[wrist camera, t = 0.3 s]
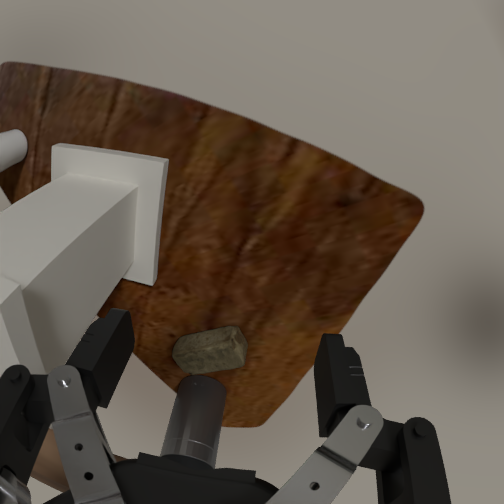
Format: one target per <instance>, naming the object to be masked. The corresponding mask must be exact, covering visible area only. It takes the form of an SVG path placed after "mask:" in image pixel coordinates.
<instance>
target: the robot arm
mask: <svg viewBox="0 0 504 504" xmlns="http://www.w3.org/2000/svg"><path fill="white" fill-rule="evenodd" d="M134 343H135V338H134V332H133V327H132V321H131V315H130V312H129V311H127V310H121V309H115V308H111V309H110V311H109V312H108V314H107V315H106V317H105V318H99V319H97V320H96V321H94V322H93V323H92V324H91V325H90V326H89V328H88V329H87V331H86V332H85V334H84V335H83V337H82V338H81V341H80V342H79V343H78V345H77V346H76V348H75V349H74V351H73V353H72V354H71V356H70V357H69V359H68V361H67V362H66V364H65V365H61V366H58V367H56V368H54V369H53V370H52V371H51V372H50V373H49V374H46V375H44V374H31V373H30V371H29V370H28V368H27V367H25V366H24V365H19V364H17V365H12V366H10V367H8V368H7V369H6V370H5V371H4V372H3V374H2V376H1V377H0V504H31V495H30V491H29V489H28V487H27V483H28V480H29V477H30V475H31V472H32V469H33V467H34V464H35V462H36V459H37V456H38V454H39V451H40V449H41V446H42V444H43V441H44V439H45V437H46V434H47V432H48V430H49V427H50V425H51V424H52V427H53V432H54V436H55V440H56V444H57V447H58V451H59V455H60V458H61V462H62V465H63V468H64V472H65V475H66V478H67V481H68V484H69V487H70V489H69V490H67V491H65V492H63V493H62V494H60V495H58V496H56V497H54V498H53V499H51V500H49V501H47V502H45V503H43V504H331V502H332V501H333V500H334V499H335V497H336V496H337V495H338V493H339V492H340V491H341V489H342V488H343V487H344V485H345V484H346V483H347V481H348V480H349V479H350V477H351V476H352V474H353V473H354V471H355V470H356V467H357V466H361V467H365V468H370V469H374V470H376V479H377V492H378V504H451V500H450V494H449V488H448V483H447V478H446V474H445V468H444V464H443V459H442V455H441V450H440V446H439V442H438V438H437V434H436V430H435V428H434V426H433V425H432V423H431V422H429V421H428V420H426V419H425V418H421V417H414V418H411V419H409V420H408V421H407V422H406V423H405V424H402V423H398V422H394V421H389V420H386V419H384V418H382V415H381V414H380V413H379V411H378V410H376V409H375V408H373V407H372V406H371V402H370V398H369V393H368V389H367V385H366V381H365V377H364V372H363V369H362V364H361V360H360V357H359V355H358V354H357V353H356V351H355V350H354V349H353V348H352V347H345V345H344V341H343V337H342V335H341V334H327V333H324V334H323V335H322V338H321V342H320V345H319V348H318V352H317V355H316V358H315V363H314V379H315V390H316V399H317V412H318V424H319V437H328V439H327V440H326V441H325V442H324V443H323V445H322V446H321V447H318V448H317V449H316V450H315V451H314V453H313V454H312V455H311V456H310V457H309V458H308V459H307V460H306V462H305V463H304V464H303V465H302V466H301V467H300V468H299V469H298V470H297V472H296V473H295V474H294V475H293V476H292V477H291V478H290V479H289V480H288V481H287V482H286V483H285V484H284V486H282V487H281V488H280V490H279V489H278V488H276V487H275V486H274V485H272V484H270V483H268V482H266V481H264V480H262V479H259V478H255V474H256V471H252V470H240V469H232V468H219V469H215V464H216V457H217V450H218V444H219V437H220V431H221V425H222V419H223V412H224V406H225V400H226V389H225V387H224V386H223V385H222V384H221V383H220V382H218V381H216V380H215V379H212V378H210V377H206V376H201V375H194V376H189V377H186V378H184V379H183V380H182V381H181V383H180V386H179V389H178V393H177V396H176V399H175V403H174V406H173V410H172V414H171V417H170V421H169V424H168V428H167V432H166V435H165V440H164V443H163V447H162V451H161V454H160V457H158V456H154V455H150V454H145V453H141V452H139V455H138V459H127V460H122V461H119V462H116V460H115V457H114V455H113V453H112V452H111V449H110V447H109V444H108V442H107V439H106V437H105V434H104V431H103V429H102V426H101V423H100V420H99V417H98V415H97V413H96V409H97V407H98V406H100V407H103V408H107V407H108V404H109V402H110V400H111V398H112V395H113V393H114V391H115V389H116V386H117V384H118V382H119V380H120V377H121V375H122V373H123V371H124V369H125V367H126V365H127V362H128V360H129V358H130V356H131V354H132V352H133V349H134Z"/></svg>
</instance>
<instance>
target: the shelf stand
mask: <svg viewBox="0 0 504 504" xmlns="http://www.w3.org/2000/svg"><path fill="white" fill-rule="evenodd" d="M168 164H169V159H165V158H159V157H154V156H148V155H142V154H136V153H129V152H123V151H116V150H109V149H102V148H95V147H88V146H80V145H72V144H63V143H59V144H56V145H54V146H52V165H51V182H50V183H48V184H46V185H45V186H43V187H41V188H39V189H38V190H36V191H34V192H32V193H31V194H29V195H27V196H26V197H24V198H22V199H21V200H19V201H17V202H16V203H14V204H12V205H11V206H9V207H8V208H7V209H5V210H3V211H1V212H0V377H1V376H2V374H3V372H4V371H5V370H6V369H7V368H8V367H10V366H12V365H17V364H19V365H24V366H25V367H27V368H28V370H29V371H30V373H31V374H44V375H46V374H49V373H50V372H51V371H52V370H53V369H54V368H56V367H58V366H61V365H65V363H66V361H67V360H68V358H69V356H70V355H71V353H72V351H73V350H74V348H75V347H76V345H77V344H78V342H79V340H80V339H81V337H82V335H83V334H84V333H85V331H86V329H87V328H88V326H89V324H90V323H91V322H92V320H93V319H94V317H95V316H96V314H97V313H98V311H99V310H100V308H101V307H102V305H103V304H104V302H105V301H106V299H107V298H108V297H109V295H110V294H111V292H112V291H113V289H114V288H115V286H116V285H117V284H118V282H119V281H120V279H121V278H124V279H128V280H132V281H136V282H140V283H143V284H147V285H151V286H153V284H154V282H155V281H156V279H157V268H158V255H159V243H160V232H161V222H162V212H163V203H164V194H165V186H166V178H167V171H168ZM49 428H50V429H52V430H53V427H52V424H51V425H50V427H49Z"/></svg>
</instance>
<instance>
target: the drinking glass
mask: <svg viewBox="0 0 504 504" xmlns="http://www.w3.org/2000/svg"><path fill="white" fill-rule="evenodd" d="M27 147H28V146H27V139H26V137H25V135H24V134H23V132H21V131H20V130H17V129H14V130H10V131H7V132H2V133H0V172H2V171H4V170H5V169H7V168H9V167H10V166H12V165H14V164H16V163H18V162H20V161H22V160H23V159H24V157H25V155H26V153H27Z"/></svg>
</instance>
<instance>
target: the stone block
mask: <svg viewBox="0 0 504 504" xmlns="http://www.w3.org/2000/svg"><path fill="white" fill-rule="evenodd" d="M247 346H248V344H247V341H246V339H245V337H244V335H243V334H242V333H241V331H240V329H239V327H237V326H227V327H221V328H217V329H213V330H208V331H203V332H198V333H195V334H189V335H185V336H182V337H180V338H179V339H178V341H177V342H176V344H175V346H174V348H173V351H172V357H173V359H174V360H175V361H176V363H177V364H178V365H179V366H180V368H181V369H182V370H183V371H184V372H186V373H190V374H191V375H196V374H201V373H208V372H214V371H219V370H228V369H234V368H239V367H242V366H244V365H245V360H246V358H245V357H246V352H247Z"/></svg>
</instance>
